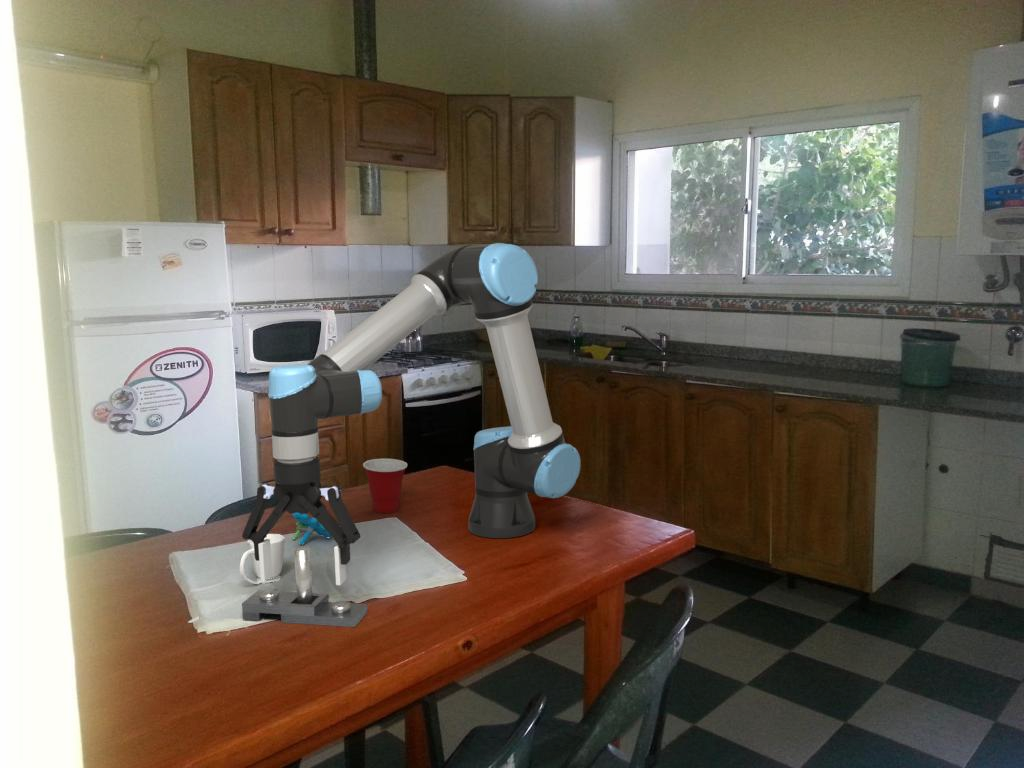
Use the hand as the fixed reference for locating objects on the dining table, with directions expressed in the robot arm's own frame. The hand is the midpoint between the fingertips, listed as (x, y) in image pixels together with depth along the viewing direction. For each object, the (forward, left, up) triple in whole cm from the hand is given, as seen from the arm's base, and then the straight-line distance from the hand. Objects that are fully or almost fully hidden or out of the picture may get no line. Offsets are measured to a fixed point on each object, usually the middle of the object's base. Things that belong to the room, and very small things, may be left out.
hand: (303, 580), depth 141 cm
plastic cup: (+7, -63, -7) cm, 64 cm away
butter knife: (+19, +5, -7) cm, 21 cm away
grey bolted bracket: (0, 0, -6) cm, 6 cm away
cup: (+15, -14, -7) cm, 22 cm away
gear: (+16, -38, -7) cm, 42 cm away
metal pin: (0, 0, -6) cm, 6 cm away
